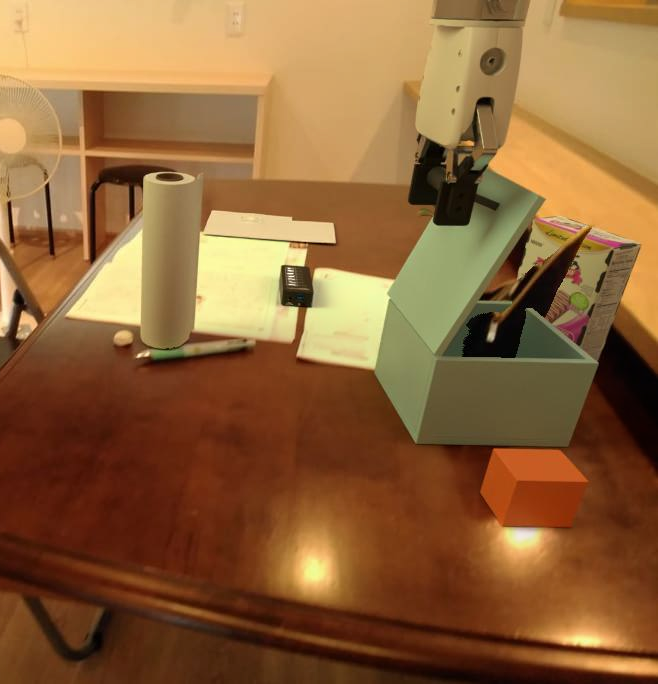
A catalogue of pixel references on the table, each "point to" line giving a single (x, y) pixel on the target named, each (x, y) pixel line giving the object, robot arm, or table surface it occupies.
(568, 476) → the block
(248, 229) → the paper
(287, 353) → the table surface
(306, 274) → the multiport hub
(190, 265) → the paper towel roll
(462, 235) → the freezer lid
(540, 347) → the box
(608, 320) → the candy bar box
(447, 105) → the robot arm
